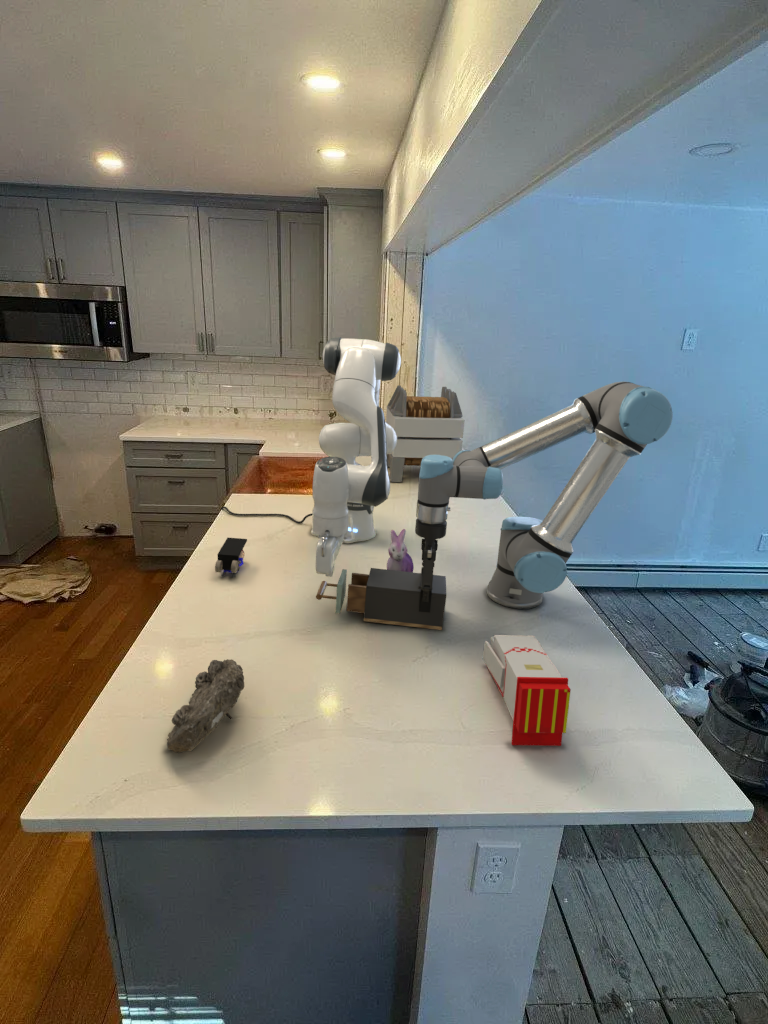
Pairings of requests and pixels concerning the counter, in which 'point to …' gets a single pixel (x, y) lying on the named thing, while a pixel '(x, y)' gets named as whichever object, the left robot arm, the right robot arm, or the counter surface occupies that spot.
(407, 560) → the figurine
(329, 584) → the drawer
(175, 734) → the fossil
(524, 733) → the toy
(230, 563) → the black wheeled block
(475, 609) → the counter surface
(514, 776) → the counter surface
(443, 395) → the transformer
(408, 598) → the cabinet
